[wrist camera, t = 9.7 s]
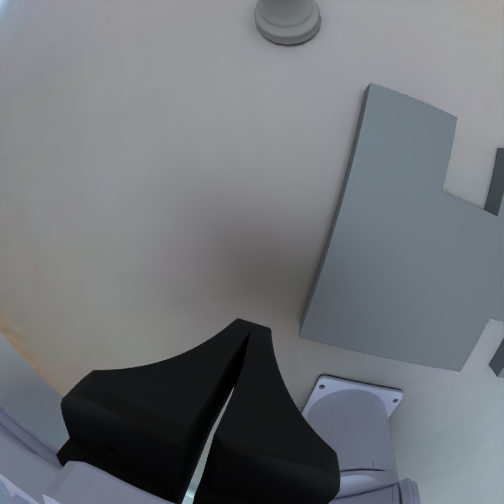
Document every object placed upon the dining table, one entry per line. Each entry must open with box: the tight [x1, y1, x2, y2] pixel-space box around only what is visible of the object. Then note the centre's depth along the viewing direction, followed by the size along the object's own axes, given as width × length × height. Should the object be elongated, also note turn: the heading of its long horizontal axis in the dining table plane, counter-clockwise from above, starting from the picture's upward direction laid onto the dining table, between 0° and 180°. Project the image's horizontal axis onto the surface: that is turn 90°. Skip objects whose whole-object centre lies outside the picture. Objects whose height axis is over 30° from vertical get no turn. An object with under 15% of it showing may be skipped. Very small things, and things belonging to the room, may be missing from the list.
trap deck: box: [299, 83, 504, 378], centre depth 17 cm, size 17×26×2 cm, turn 77°
